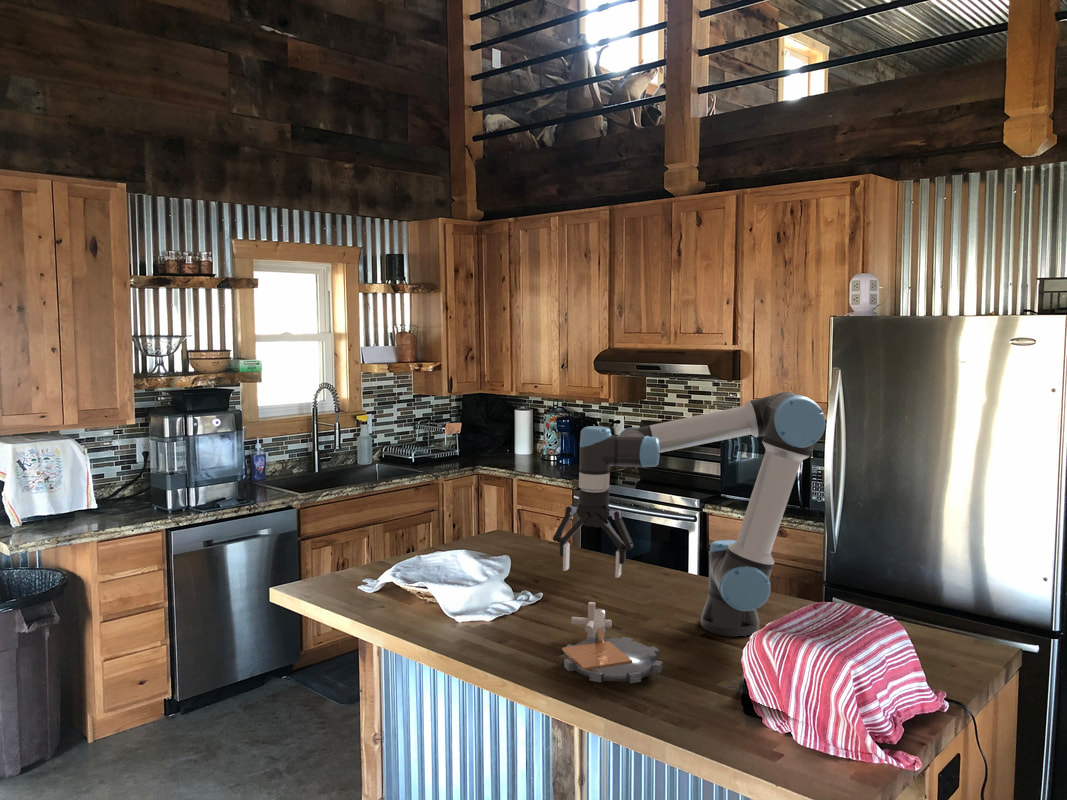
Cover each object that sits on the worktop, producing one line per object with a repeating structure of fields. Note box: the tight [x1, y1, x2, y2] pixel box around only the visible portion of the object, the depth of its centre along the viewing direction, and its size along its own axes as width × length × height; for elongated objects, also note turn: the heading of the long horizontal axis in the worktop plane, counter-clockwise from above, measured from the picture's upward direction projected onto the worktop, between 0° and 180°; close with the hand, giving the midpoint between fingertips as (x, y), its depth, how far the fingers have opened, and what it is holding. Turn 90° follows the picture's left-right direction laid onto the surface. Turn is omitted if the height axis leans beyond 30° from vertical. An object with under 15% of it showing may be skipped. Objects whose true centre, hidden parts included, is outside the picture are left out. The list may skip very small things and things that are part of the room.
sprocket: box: [561, 608, 664, 684], centre depth 196 cm, size 23×23×10 cm
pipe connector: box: [570, 601, 613, 637], centre depth 214 cm, size 10×10×10 cm
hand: (591, 572), depth 213 cm, fingers open, 13 cm apart
